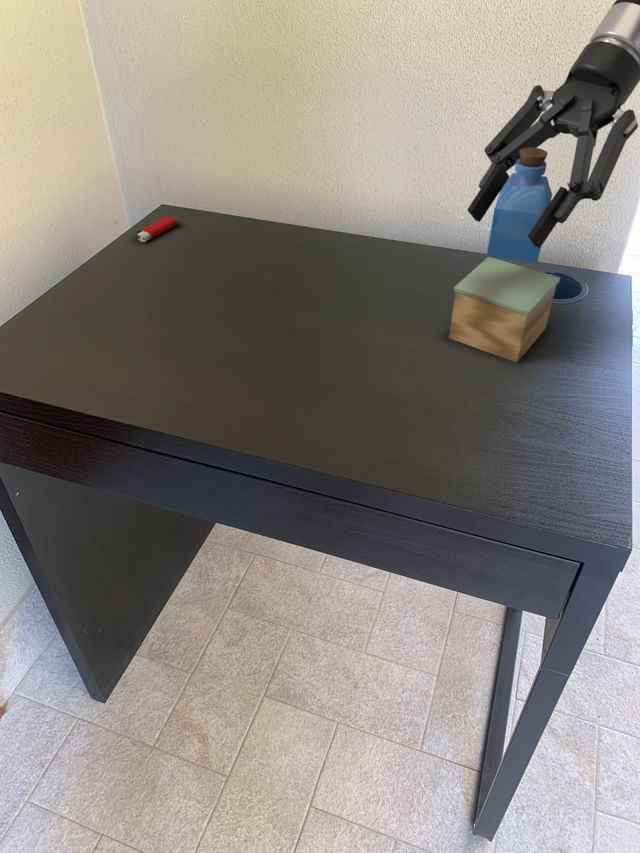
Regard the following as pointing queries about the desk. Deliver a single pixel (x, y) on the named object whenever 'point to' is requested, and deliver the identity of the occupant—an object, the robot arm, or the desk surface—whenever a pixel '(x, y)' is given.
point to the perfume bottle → (520, 208)
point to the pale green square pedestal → (502, 308)
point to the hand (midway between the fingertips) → (502, 228)
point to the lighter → (156, 228)
